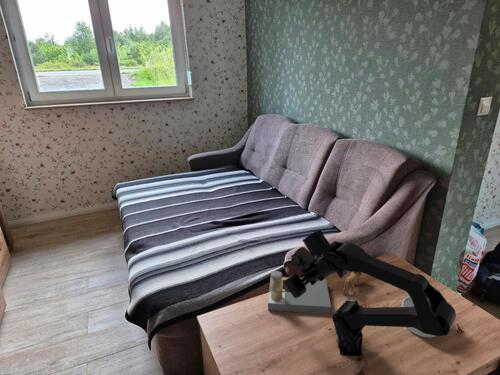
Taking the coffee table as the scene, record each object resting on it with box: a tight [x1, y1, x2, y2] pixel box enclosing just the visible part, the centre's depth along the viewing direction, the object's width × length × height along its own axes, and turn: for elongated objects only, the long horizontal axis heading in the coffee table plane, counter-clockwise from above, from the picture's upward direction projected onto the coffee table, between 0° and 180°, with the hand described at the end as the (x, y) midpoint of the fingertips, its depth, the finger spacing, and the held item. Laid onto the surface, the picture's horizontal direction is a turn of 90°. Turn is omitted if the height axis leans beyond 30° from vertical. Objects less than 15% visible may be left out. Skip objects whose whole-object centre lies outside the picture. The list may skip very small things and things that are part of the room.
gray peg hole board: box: [267, 276, 332, 315], centre depth 116 cm, size 22×16×3 cm
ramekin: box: [401, 295, 437, 339], centre depth 100 cm, size 13×13×7 cm
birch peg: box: [270, 270, 283, 301], centre depth 110 cm, size 4×4×10 cm
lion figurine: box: [342, 272, 362, 299], centre depth 119 cm, size 15×5×9 cm, turn 154°
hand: (293, 283), depth 104 cm, fingers open, 9 cm apart
